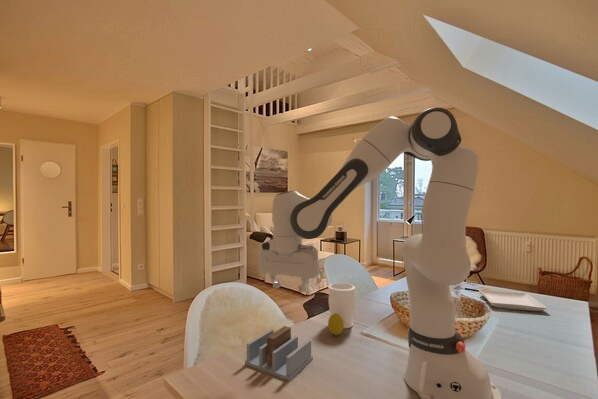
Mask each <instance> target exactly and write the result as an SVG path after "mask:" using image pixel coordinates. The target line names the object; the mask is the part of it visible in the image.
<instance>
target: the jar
mask: <svg viewBox="0 0 598 399" xmlns="http://www.w3.org/2000/svg"><path fill="white" fill-rule="evenodd" d="M328 290H329V294H328V308H329V315H330V316H331V315H333V314H335V313H336V314H338V315H340V316H341V317H342V320H343V325H344V326H343V330H344V329H345V330H346V329H351V328H352V327H353V326H354V322H353V320H354V318H355V317H354V316H355V310H356V304H357V303H356V293H355V291H356V286H355V285H354V284H350V283H343V282H342V283H341V282H338V283H337V282H336V283H331V284H329V285H328Z"/></svg>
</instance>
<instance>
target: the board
mask: <svg viewBox="0 0 598 399" xmlns="http://www.w3.org/2000/svg"><path fill="white" fill-rule="evenodd" d="M291 335H292V332H291V327H289V326H286V325H283V326H282V327H280V328H279V329H277V330H276V331H274V333H273V334H271V335H269V336H268V337H267V365H270V366H272V352H273V351H275V350H276V349H277V348H279V347H280V346H282V345H283V344H285V343H286V342H287V341H289V340H290V339H292V336H291Z"/></svg>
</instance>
